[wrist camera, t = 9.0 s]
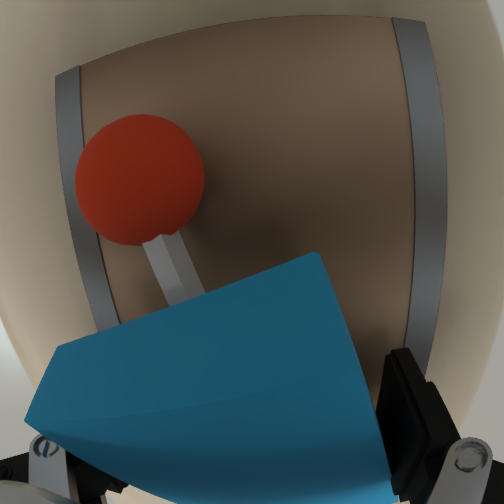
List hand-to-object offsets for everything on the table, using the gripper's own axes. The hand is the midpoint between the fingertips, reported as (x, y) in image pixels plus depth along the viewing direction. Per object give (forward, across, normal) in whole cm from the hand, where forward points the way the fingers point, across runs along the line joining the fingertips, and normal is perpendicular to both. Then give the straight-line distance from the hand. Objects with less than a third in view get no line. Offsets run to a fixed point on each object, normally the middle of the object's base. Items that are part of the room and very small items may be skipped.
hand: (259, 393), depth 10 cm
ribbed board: (+3, 0, 0) cm, 3 cm away
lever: (+1, 0, 0) cm, 1 cm away
